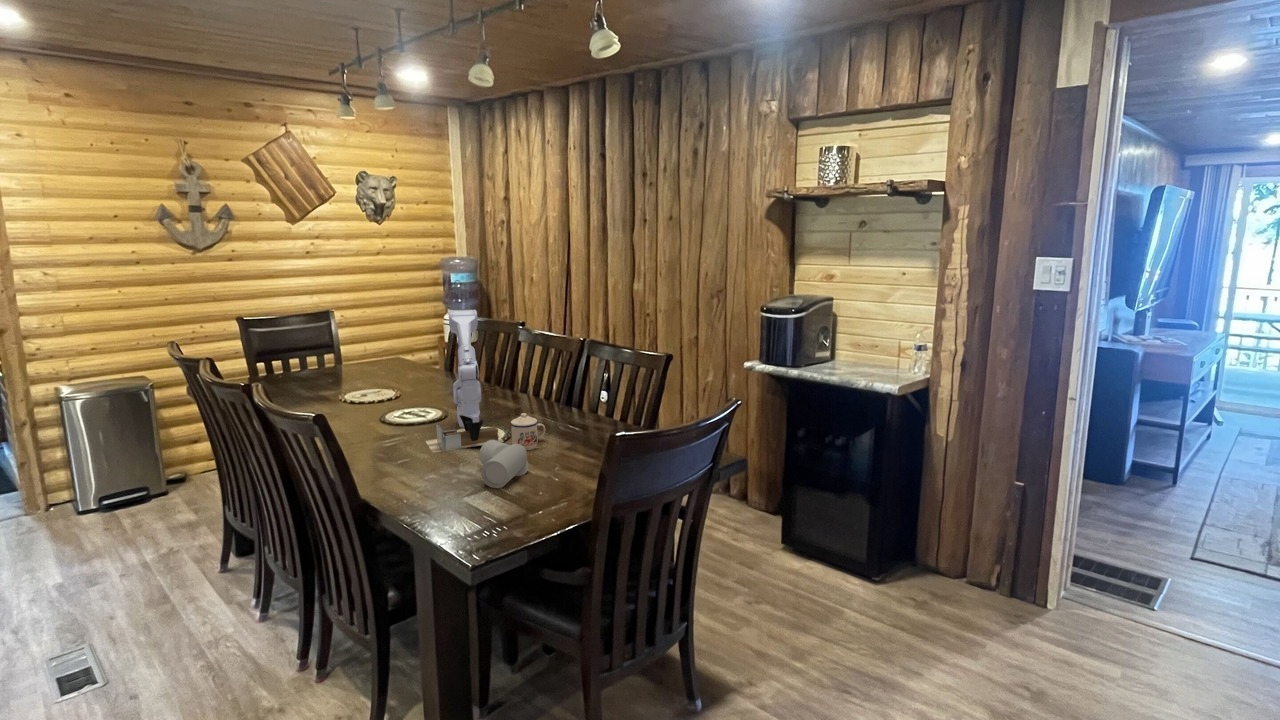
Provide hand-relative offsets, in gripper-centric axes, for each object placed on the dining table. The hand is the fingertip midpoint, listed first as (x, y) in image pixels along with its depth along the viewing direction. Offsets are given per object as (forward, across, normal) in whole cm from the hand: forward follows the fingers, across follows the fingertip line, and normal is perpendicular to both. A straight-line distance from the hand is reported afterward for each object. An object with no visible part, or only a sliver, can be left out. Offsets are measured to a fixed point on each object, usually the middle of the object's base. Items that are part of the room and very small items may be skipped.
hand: (472, 437), depth 237 cm
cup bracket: (+2, 0, -8) cm, 8 cm away
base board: (+3, -3, -2) cm, 5 cm away
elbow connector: (+3, +32, +1) cm, 32 cm away
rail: (+2, 0, 0) cm, 2 cm away
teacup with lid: (+3, +10, +17) cm, 20 cm away
